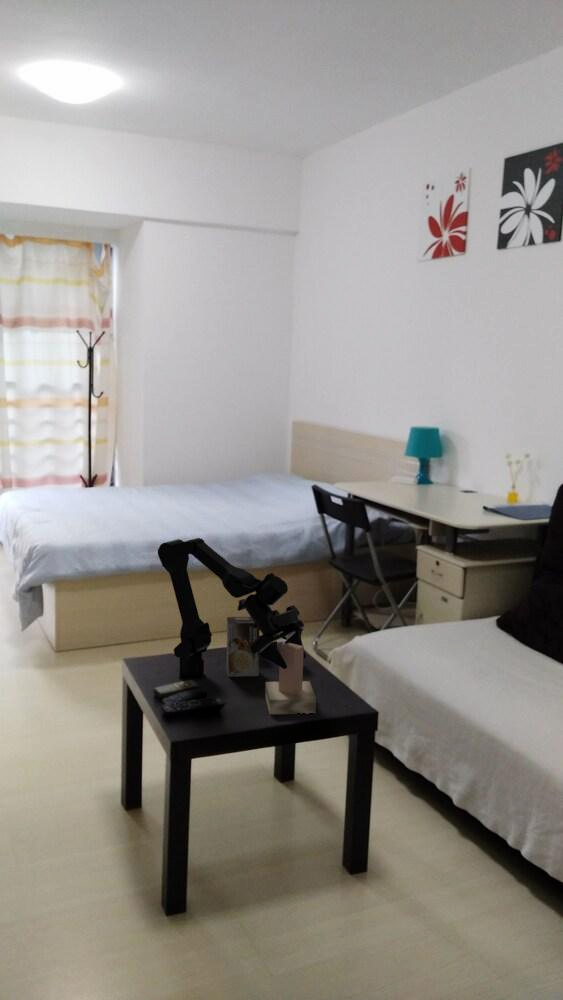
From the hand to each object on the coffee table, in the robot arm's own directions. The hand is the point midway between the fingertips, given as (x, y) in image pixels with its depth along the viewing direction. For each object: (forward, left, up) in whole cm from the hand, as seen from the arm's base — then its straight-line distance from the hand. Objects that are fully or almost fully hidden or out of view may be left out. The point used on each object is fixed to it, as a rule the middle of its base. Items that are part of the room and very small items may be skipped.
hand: (295, 663), depth 227 cm
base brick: (-1, +1, -12) cm, 12 cm away
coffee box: (-12, +24, -12) cm, 29 cm away
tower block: (-1, +1, -8) cm, 8 cm away
